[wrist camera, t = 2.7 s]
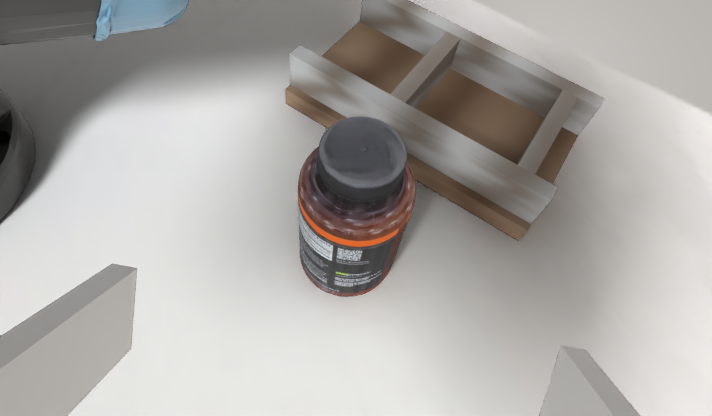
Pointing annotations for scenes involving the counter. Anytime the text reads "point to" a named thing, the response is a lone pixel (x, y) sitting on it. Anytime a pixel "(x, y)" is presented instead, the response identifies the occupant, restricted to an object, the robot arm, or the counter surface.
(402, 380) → the counter surface
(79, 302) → the robot arm
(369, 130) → the supplement bottle
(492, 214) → the wooden divided tray
